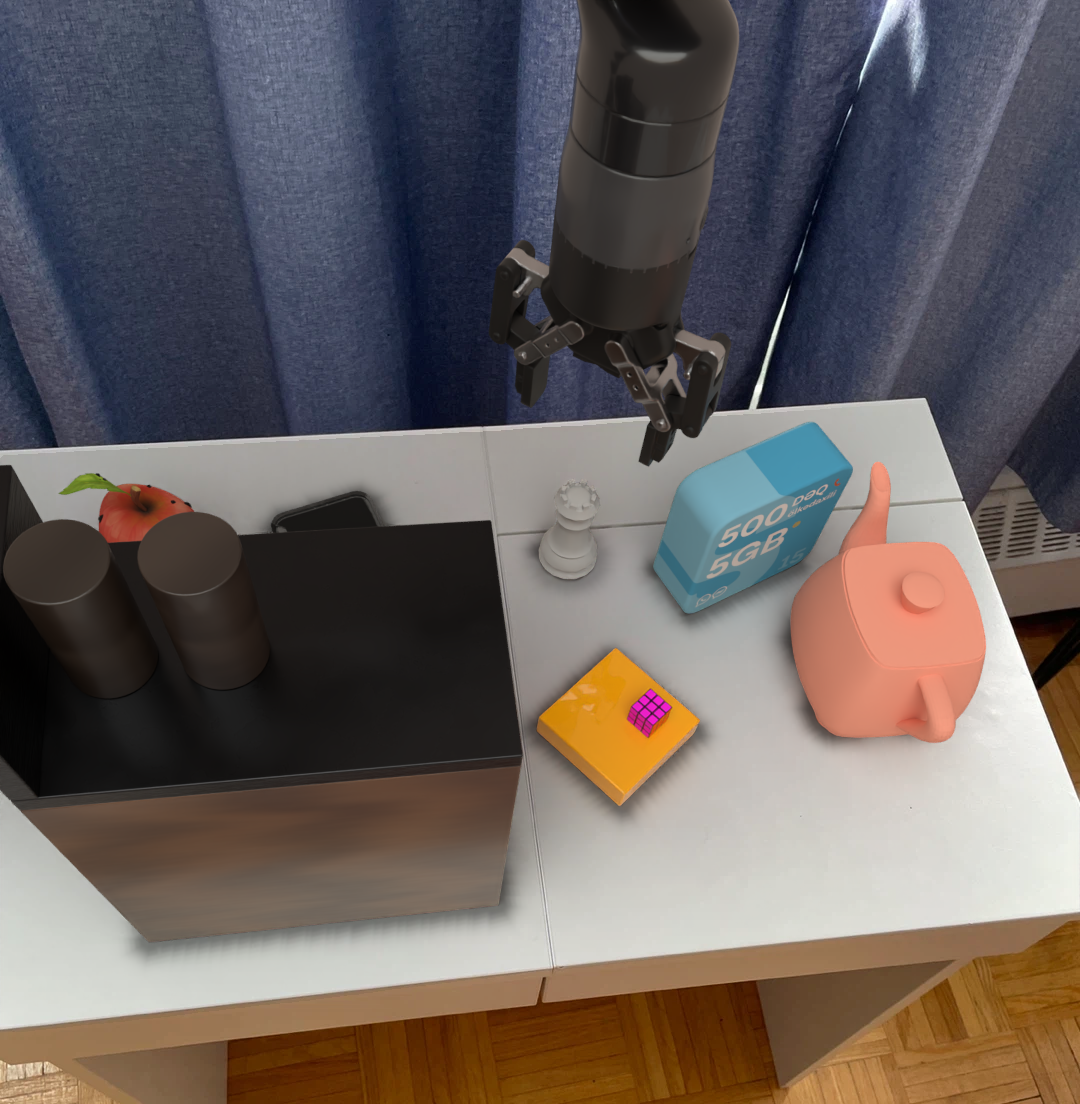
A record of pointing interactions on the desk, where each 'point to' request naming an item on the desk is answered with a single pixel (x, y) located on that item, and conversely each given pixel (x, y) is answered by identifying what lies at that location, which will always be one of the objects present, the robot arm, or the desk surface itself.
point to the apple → (129, 507)
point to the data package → (749, 515)
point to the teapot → (888, 633)
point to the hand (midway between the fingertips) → (591, 426)
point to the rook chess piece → (571, 532)
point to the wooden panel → (293, 852)
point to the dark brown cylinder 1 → (82, 607)
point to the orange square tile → (617, 726)
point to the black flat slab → (279, 675)
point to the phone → (330, 514)
